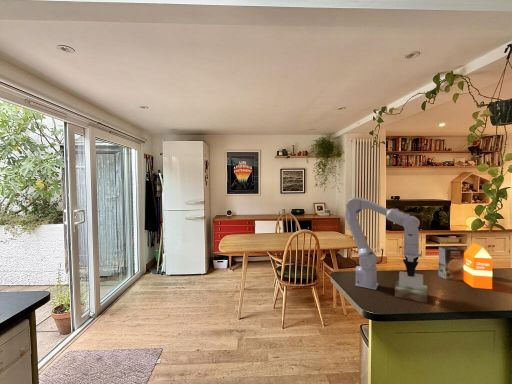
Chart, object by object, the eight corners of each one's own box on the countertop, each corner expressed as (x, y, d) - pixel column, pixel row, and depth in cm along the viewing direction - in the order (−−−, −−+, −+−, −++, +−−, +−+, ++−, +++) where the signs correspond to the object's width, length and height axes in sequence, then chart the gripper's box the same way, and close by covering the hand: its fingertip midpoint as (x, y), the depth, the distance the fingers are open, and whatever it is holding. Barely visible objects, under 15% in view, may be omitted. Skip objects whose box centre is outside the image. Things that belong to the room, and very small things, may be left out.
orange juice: (473, 287, 121) (473, 246, 120) (463, 280, 129) (463, 242, 129) (492, 289, 119) (493, 247, 118) (481, 282, 127) (481, 243, 127)
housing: (399, 286, 113) (399, 272, 113) (399, 282, 117) (399, 269, 117) (423, 290, 108) (423, 276, 108) (423, 286, 112) (423, 273, 112)
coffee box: (445, 279, 131) (445, 249, 131) (438, 275, 137) (438, 246, 137) (464, 280, 130) (464, 249, 130) (455, 276, 136) (456, 246, 136)
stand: (394, 296, 111) (394, 287, 111) (396, 288, 120) (396, 280, 120) (427, 303, 105) (427, 293, 105) (427, 294, 113) (427, 285, 113)
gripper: (421, 248, 104) (421, 280, 104) (421, 241, 116) (421, 270, 116) (402, 245, 108) (402, 277, 108) (404, 239, 120) (404, 268, 120)
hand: (411, 273), depth 112 cm, fingers open, 7 cm apart
